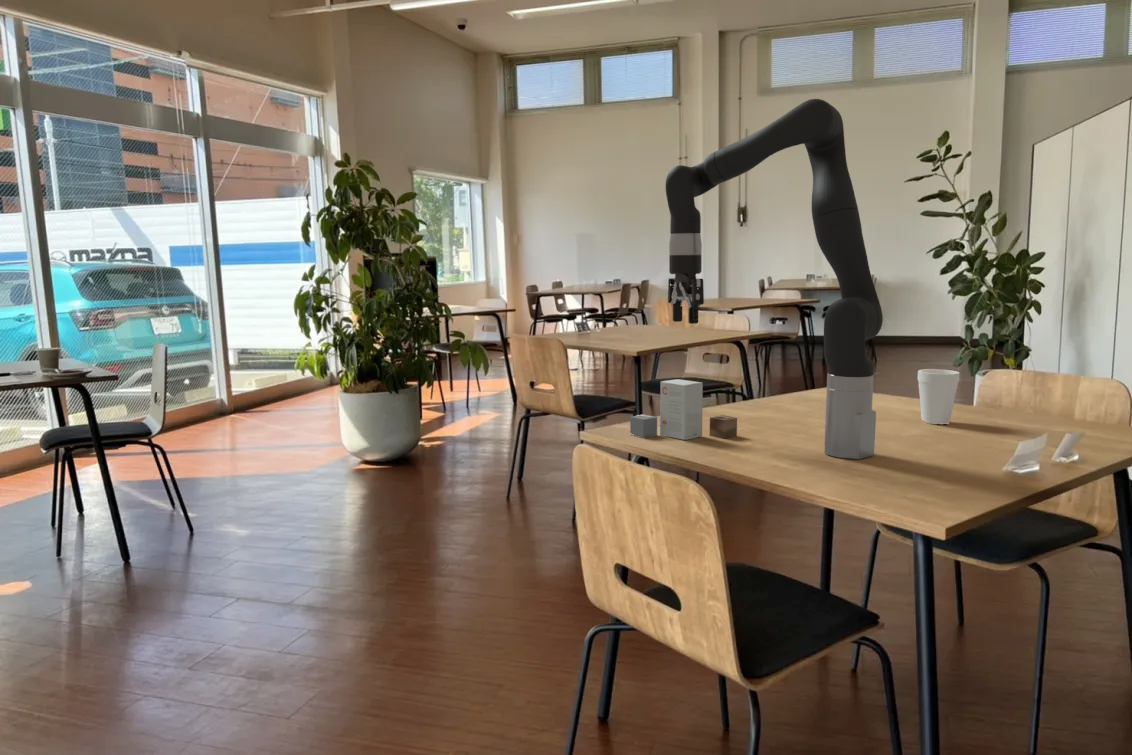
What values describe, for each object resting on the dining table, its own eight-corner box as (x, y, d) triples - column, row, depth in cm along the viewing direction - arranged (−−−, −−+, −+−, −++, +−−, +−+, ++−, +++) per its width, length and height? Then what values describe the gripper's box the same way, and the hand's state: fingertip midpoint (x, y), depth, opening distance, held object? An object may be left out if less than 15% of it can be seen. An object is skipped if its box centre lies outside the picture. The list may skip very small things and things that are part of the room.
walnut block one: (736, 436, 191) (737, 416, 190) (724, 439, 188) (724, 419, 187) (722, 433, 194) (722, 414, 193) (709, 436, 191) (709, 416, 191)
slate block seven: (657, 435, 192) (657, 416, 192) (643, 438, 189) (643, 418, 189) (643, 432, 196) (643, 413, 195) (630, 435, 193) (630, 415, 192)
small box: (702, 436, 190) (703, 382, 188) (684, 440, 186) (685, 385, 184) (677, 431, 196) (678, 378, 194) (659, 435, 192) (659, 381, 190)
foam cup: (961, 426, 198) (964, 374, 196) (921, 426, 200) (924, 374, 198) (949, 419, 208) (952, 369, 206) (911, 418, 209) (914, 368, 207)
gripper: (714, 252, 184) (713, 323, 186) (686, 254, 197) (686, 320, 200) (684, 253, 182) (684, 325, 184) (658, 254, 195) (658, 321, 197)
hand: (685, 322), depth 192 cm, fingers open, 8 cm apart
